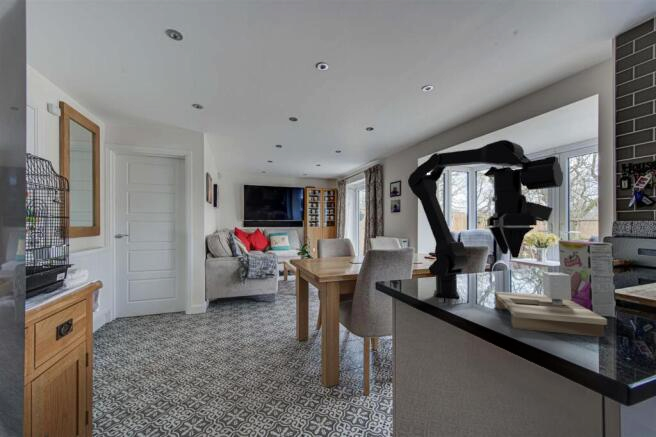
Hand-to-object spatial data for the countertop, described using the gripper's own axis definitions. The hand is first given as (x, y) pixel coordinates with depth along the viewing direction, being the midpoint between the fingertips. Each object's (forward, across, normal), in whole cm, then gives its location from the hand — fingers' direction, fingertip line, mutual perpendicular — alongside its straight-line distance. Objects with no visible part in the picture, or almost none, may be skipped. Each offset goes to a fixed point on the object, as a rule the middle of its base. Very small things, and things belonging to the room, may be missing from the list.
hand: (509, 255), depth 68 cm
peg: (+13, -6, -7) cm, 16 cm away
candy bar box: (+13, +4, -16) cm, 22 cm away
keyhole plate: (+13, -6, -4) cm, 15 cm away
